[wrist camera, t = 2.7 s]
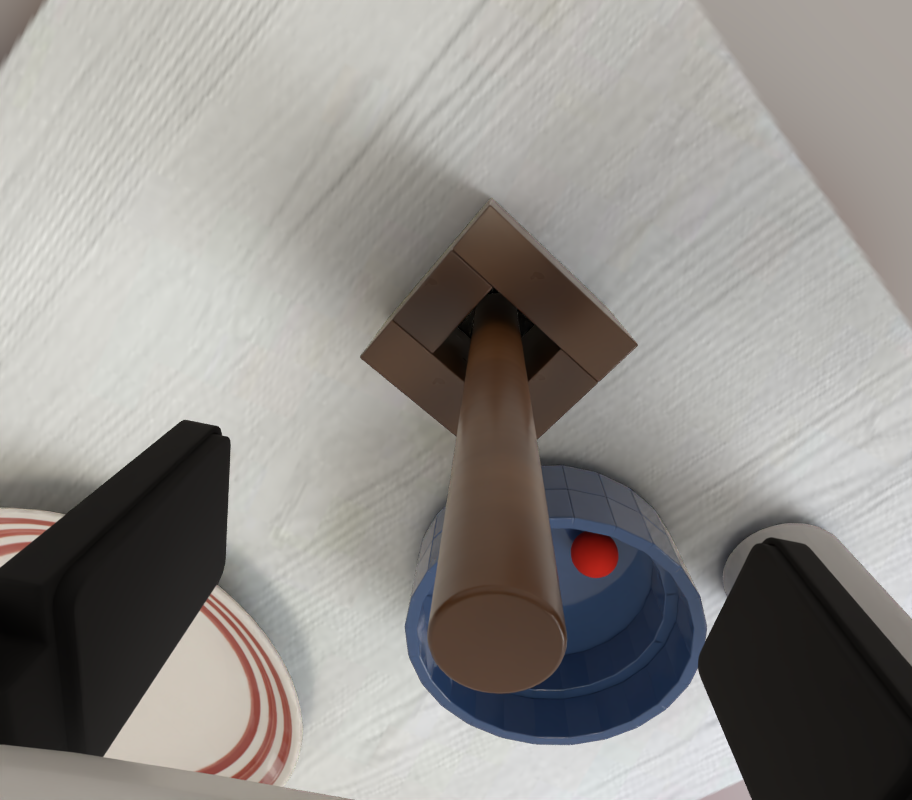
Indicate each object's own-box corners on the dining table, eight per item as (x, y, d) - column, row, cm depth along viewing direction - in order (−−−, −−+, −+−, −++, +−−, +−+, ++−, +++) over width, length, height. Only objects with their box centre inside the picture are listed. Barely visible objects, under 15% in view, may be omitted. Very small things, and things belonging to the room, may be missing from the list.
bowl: (725, 565, 31) (771, 643, 26) (544, 695, 35) (552, 782, 30) (541, 405, 28) (552, 457, 23) (370, 569, 33) (347, 642, 27)
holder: (608, 308, 26) (639, 345, 20) (499, 414, 28) (501, 473, 23) (491, 196, 24) (489, 204, 19) (387, 319, 27) (359, 357, 21)
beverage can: (861, 571, 30) (1070, 800, 19) (754, 626, 32) (889, 863, 21) (802, 493, 29) (993, 693, 18) (694, 556, 31) (805, 772, 20)
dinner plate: (165, 841, 44) (140, 891, 41) (-161, 639, 38) (-219, 680, 35) (403, 679, 36) (395, 727, 33) (35, 385, 29) (-18, 409, 26)
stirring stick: (526, 312, 26) (598, 646, 8) (497, 342, 27) (500, 716, 8) (494, 284, 26) (492, 564, 7) (466, 315, 26) (398, 645, 8)
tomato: (622, 539, 30) (633, 568, 27) (589, 565, 30) (597, 596, 28) (591, 512, 29) (599, 540, 27) (558, 540, 30) (563, 569, 28)
